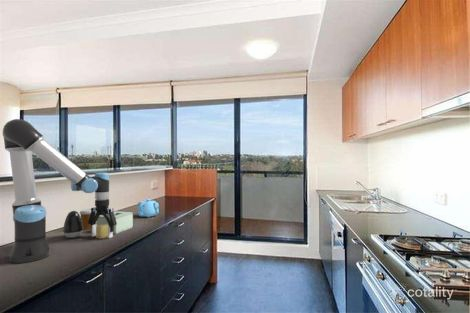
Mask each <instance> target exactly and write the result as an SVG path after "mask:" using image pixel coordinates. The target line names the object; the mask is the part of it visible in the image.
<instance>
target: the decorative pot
mask: <svg viewBox="0 0 470 313" xmlns="http://www.w3.org/2000/svg"><path fill="white" fill-rule="evenodd" d="M159 213H160V211H159V203H158V202H157V201H156V200H151V198H147V199H145V200H144V201H139V202H138V203H137V211H136V214H137V216H139V217H140V218H144V217H146V218H152V217H155V216H157V215H158V214H159Z"/></svg>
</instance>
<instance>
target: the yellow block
mask: <svg viewBox="0 0 470 313" xmlns="http://www.w3.org/2000/svg"><path fill="white" fill-rule="evenodd" d="M106 236H107V237H108V224H102V225H99V226H97V225H96V236H95V239H97V238H98V239H99V240H101V239H104V238H106ZM98 239H97V240H98Z"/></svg>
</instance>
